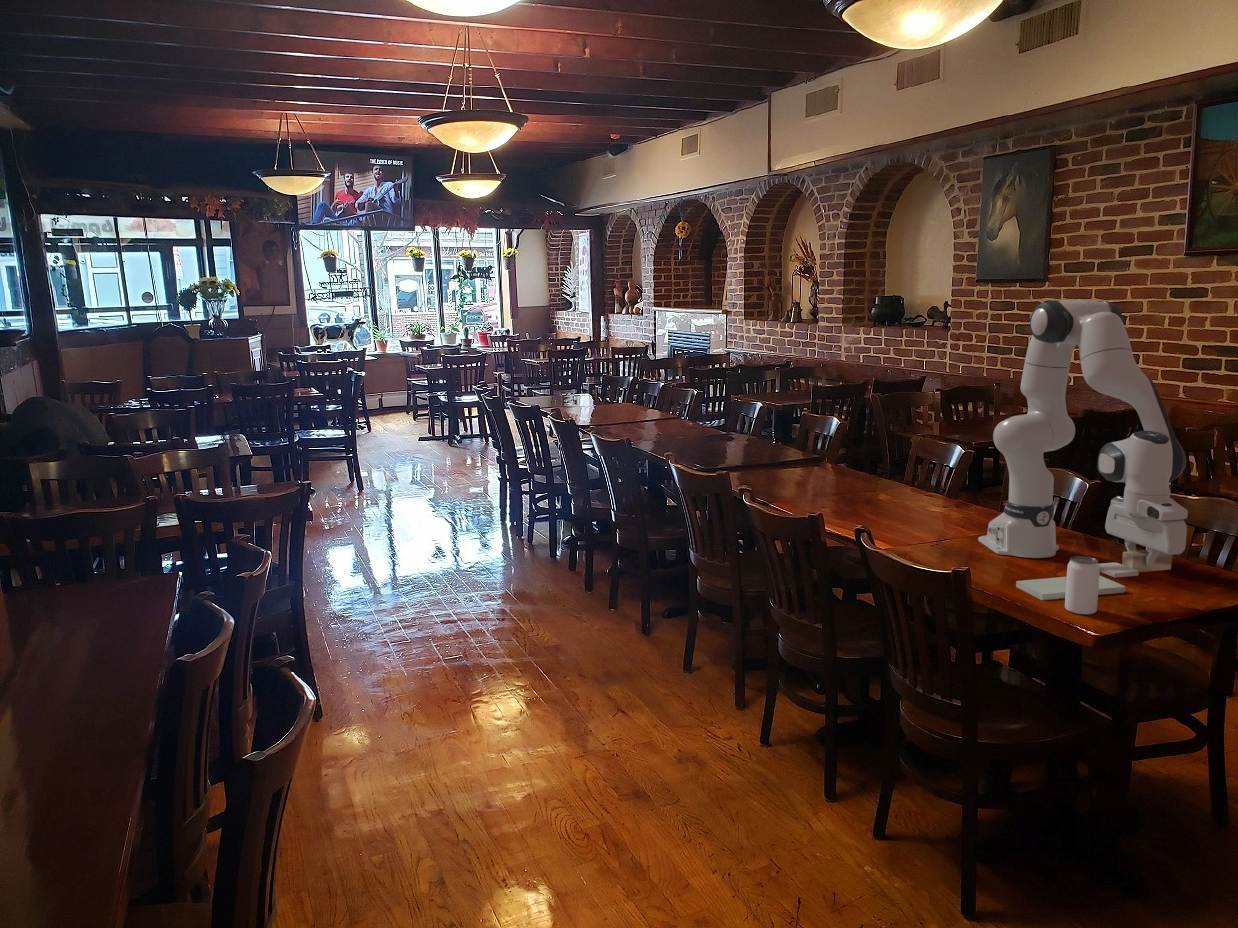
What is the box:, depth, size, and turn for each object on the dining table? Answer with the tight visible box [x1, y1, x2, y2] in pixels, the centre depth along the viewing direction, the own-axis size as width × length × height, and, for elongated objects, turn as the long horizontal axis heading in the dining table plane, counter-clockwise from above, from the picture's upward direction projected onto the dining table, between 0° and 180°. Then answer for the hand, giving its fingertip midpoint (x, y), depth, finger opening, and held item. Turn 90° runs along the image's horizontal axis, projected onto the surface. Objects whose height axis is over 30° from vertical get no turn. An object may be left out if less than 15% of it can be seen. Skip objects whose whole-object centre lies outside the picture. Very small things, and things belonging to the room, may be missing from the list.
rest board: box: [1015, 574, 1126, 601], centre depth 210 cm, size 10×22×2 cm, turn 100°
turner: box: [1098, 549, 1173, 578], centre depth 197 cm, size 7×16×4 cm, turn 100°
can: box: [1064, 555, 1101, 616], centre depth 195 cm, size 6×6×12 cm
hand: (1140, 562), depth 197 cm, fingers closed on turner, 3 cm apart
